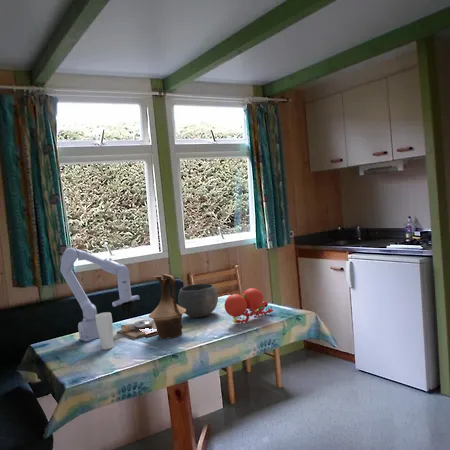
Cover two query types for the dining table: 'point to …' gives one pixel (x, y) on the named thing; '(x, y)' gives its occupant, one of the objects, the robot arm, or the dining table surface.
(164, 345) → the dining table surface
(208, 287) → the bowl
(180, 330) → the pitcher
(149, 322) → the flange
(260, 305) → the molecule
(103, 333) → the drinking glass
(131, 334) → the board
